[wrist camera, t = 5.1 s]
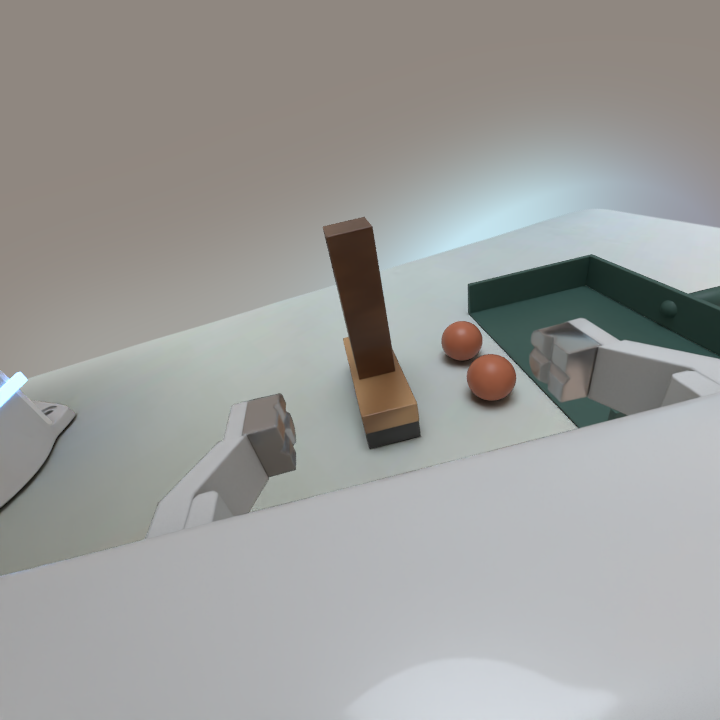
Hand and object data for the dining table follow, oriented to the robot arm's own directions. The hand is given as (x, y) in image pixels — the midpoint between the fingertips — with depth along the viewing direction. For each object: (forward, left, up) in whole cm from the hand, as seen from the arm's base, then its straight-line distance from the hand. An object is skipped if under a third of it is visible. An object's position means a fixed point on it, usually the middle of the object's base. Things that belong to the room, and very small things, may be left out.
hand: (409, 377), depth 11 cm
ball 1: (-4, +16, -11) cm, 20 cm away
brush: (-8, +9, -11) cm, 16 cm away
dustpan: (+9, +23, -11) cm, 27 cm away
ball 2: (0, +12, -11) cm, 16 cm away
